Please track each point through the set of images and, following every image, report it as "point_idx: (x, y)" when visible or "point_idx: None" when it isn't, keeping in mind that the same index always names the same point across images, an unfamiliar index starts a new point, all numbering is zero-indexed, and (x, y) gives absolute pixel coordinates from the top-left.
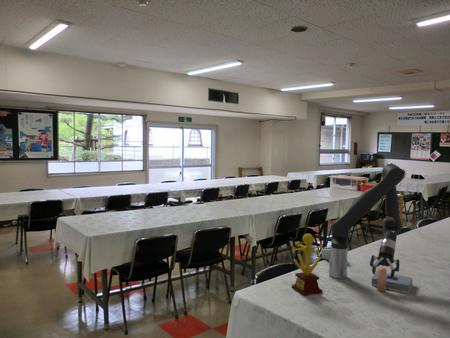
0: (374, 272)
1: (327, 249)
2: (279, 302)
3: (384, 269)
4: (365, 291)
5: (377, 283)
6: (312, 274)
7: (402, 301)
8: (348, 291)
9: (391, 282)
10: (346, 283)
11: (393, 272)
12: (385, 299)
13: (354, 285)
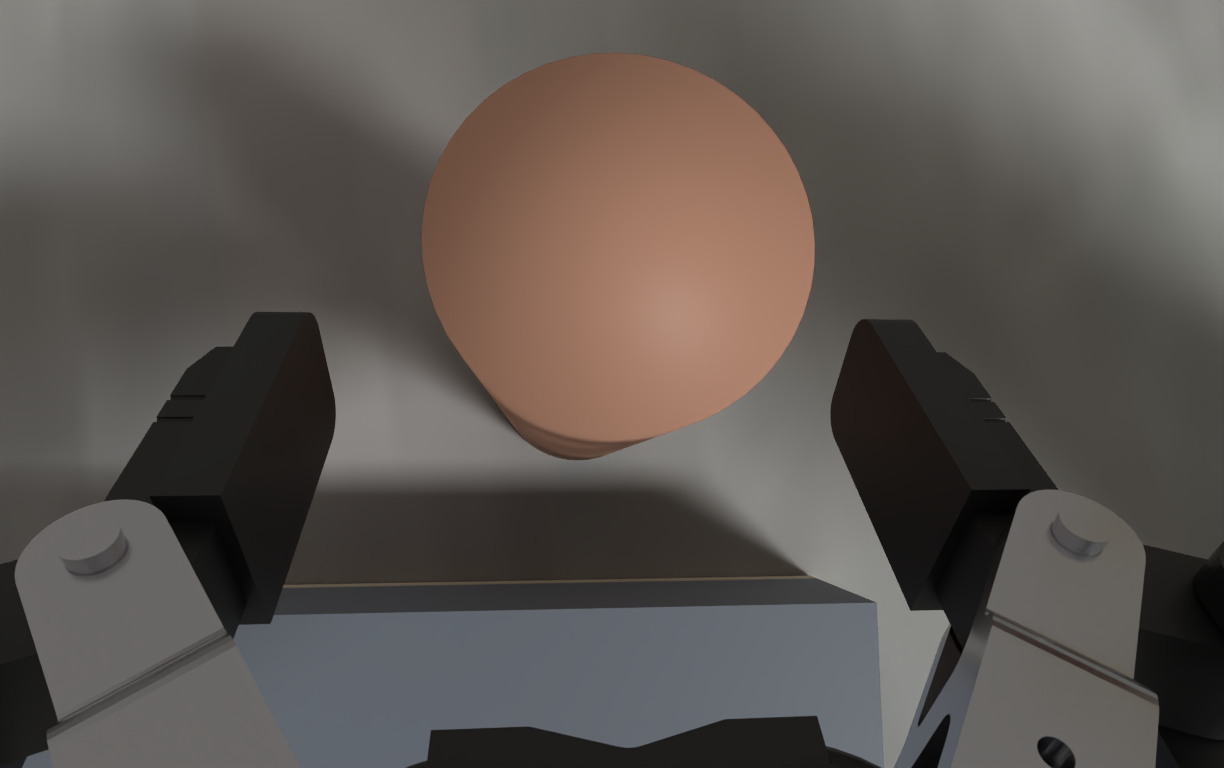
0: (864, 343)
1: None
2: None
3: (497, 143)
4: (818, 175)
5: (712, 586)
6: None
7: (152, 84)
8: (1051, 6)
9: (391, 612)
10: (1217, 370)
11: (164, 442)
12: (436, 6)
13: (1069, 357)
